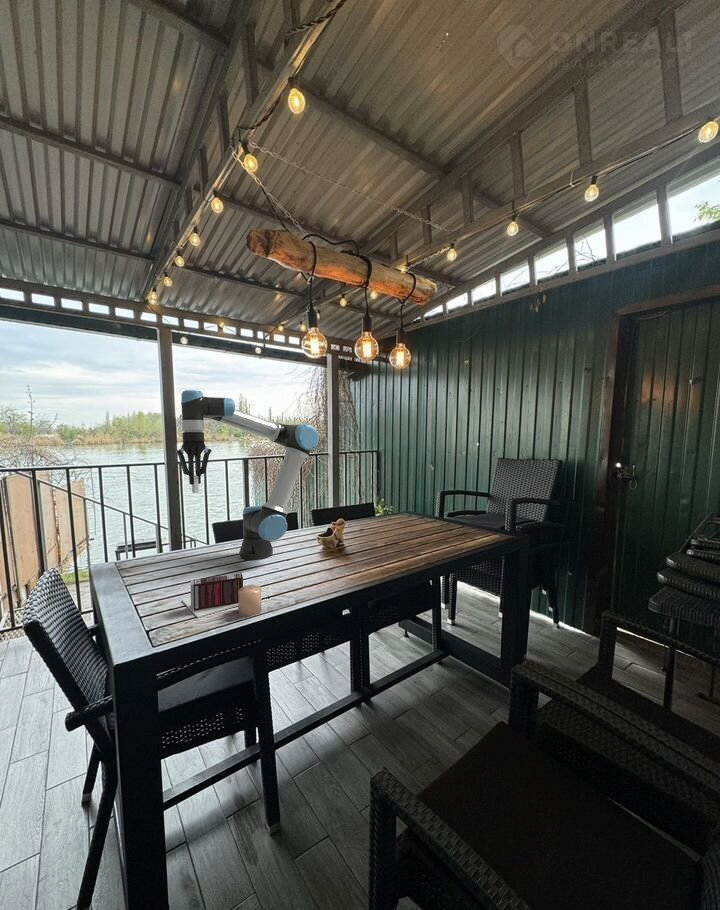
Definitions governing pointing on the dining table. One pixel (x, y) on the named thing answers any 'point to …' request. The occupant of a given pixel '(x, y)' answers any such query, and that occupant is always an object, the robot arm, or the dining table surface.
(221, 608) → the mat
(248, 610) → the peach pillar candle
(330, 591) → the dining table surface
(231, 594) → the supplement box
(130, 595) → the dining table surface
